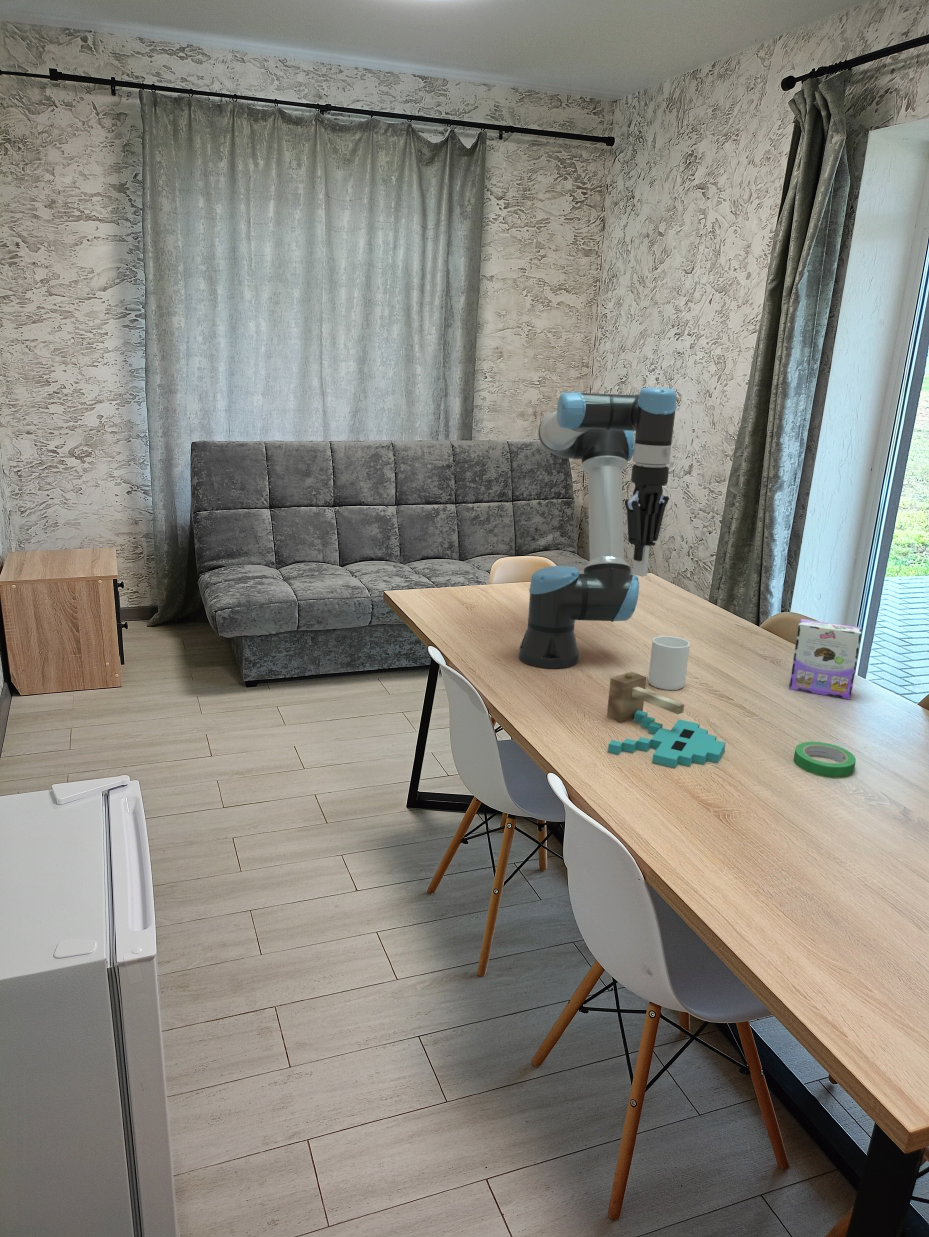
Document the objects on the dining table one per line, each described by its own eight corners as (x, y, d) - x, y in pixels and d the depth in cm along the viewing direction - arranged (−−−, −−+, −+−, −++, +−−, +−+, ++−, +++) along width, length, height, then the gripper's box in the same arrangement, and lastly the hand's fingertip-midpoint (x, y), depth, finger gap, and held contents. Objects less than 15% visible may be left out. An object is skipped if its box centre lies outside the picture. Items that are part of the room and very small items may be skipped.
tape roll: (847, 784, 169) (850, 771, 168) (787, 768, 175) (789, 755, 174) (858, 763, 178) (860, 751, 177) (800, 748, 184) (802, 736, 183)
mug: (675, 673, 223) (679, 631, 220) (689, 691, 211) (694, 647, 208) (640, 672, 222) (645, 631, 219) (653, 690, 211) (658, 647, 208)
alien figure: (607, 754, 178) (710, 779, 169) (608, 743, 177) (711, 768, 169) (636, 719, 195) (730, 740, 186) (637, 710, 194) (732, 730, 186)
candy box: (851, 692, 215) (863, 626, 211) (850, 700, 210) (862, 633, 205) (790, 681, 221) (800, 617, 216) (788, 689, 216) (798, 623, 211)
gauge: (606, 717, 194) (610, 674, 192) (627, 710, 199) (632, 668, 196) (666, 743, 183) (672, 697, 180) (687, 734, 187) (693, 690, 184)
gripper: (647, 468, 181) (636, 582, 188) (683, 465, 190) (671, 574, 197) (617, 464, 186) (607, 575, 193) (653, 460, 195) (642, 567, 202)
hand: (639, 574), depth 195 cm, fingers closed
